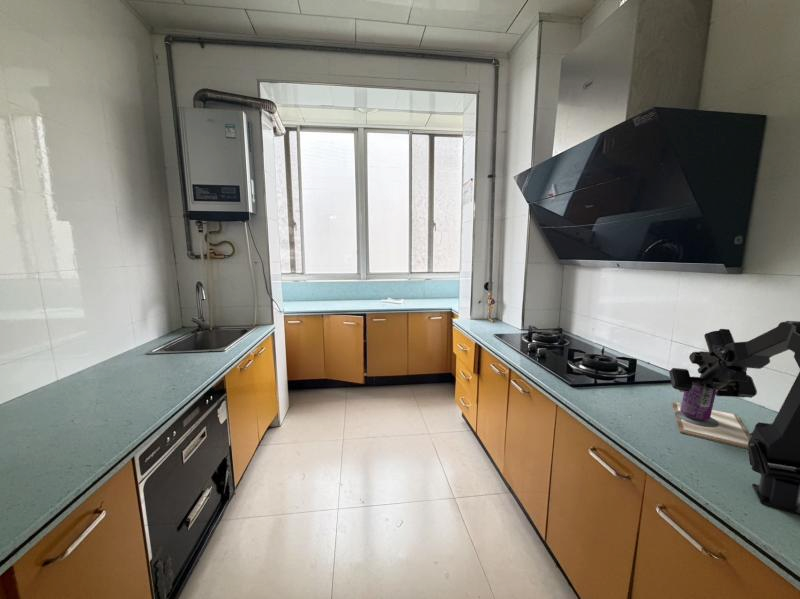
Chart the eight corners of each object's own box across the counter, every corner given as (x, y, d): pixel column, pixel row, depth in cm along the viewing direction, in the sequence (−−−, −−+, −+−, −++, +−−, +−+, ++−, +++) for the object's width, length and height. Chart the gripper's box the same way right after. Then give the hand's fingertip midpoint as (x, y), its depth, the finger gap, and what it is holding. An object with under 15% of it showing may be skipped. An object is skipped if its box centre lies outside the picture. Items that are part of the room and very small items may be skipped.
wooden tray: (758, 451, 87) (758, 448, 86) (679, 432, 96) (680, 429, 96) (736, 416, 104) (736, 413, 104) (672, 403, 113) (672, 400, 113)
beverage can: (712, 417, 102) (721, 382, 99) (705, 424, 98) (713, 388, 96) (684, 407, 108) (691, 374, 105) (676, 413, 104) (683, 379, 101)
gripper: (757, 349, 91) (727, 372, 103) (675, 343, 97) (657, 365, 109) (772, 387, 85) (739, 406, 97) (684, 378, 91) (663, 397, 103)
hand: (697, 392), depth 102 cm, fingers open, 9 cm apart
